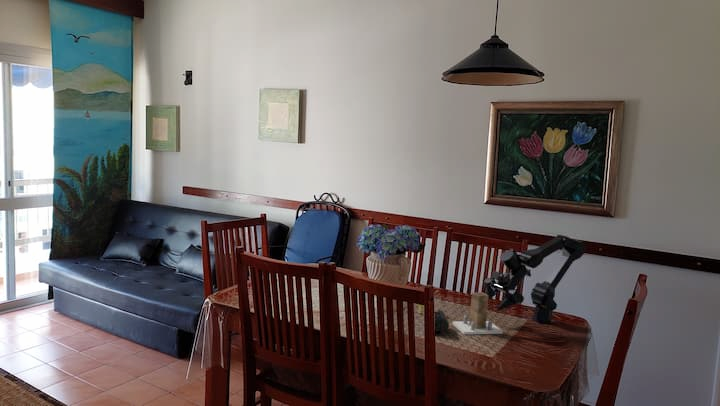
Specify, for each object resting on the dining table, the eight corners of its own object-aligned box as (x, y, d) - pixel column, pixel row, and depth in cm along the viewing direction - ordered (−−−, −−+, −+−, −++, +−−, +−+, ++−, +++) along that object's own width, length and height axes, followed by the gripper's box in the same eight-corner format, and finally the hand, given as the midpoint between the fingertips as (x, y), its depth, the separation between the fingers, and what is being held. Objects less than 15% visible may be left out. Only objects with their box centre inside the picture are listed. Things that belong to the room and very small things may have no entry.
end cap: (448, 336, 187) (449, 319, 186) (429, 335, 187) (430, 317, 187) (444, 326, 197) (446, 310, 196) (426, 325, 197) (427, 308, 197)
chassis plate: (489, 323, 204) (490, 313, 204) (502, 333, 193) (503, 323, 193) (452, 323, 201) (453, 314, 200) (463, 334, 190) (464, 324, 189)
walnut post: (478, 323, 200) (481, 291, 198) (485, 327, 196) (488, 295, 194) (469, 324, 198) (471, 292, 196) (476, 328, 194) (479, 296, 192)
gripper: (489, 258, 207) (465, 286, 204) (520, 270, 190) (495, 300, 187) (503, 275, 211) (479, 303, 208) (534, 288, 194) (509, 318, 191)
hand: (490, 306), depth 198 cm, fingers open, 9 cm apart
